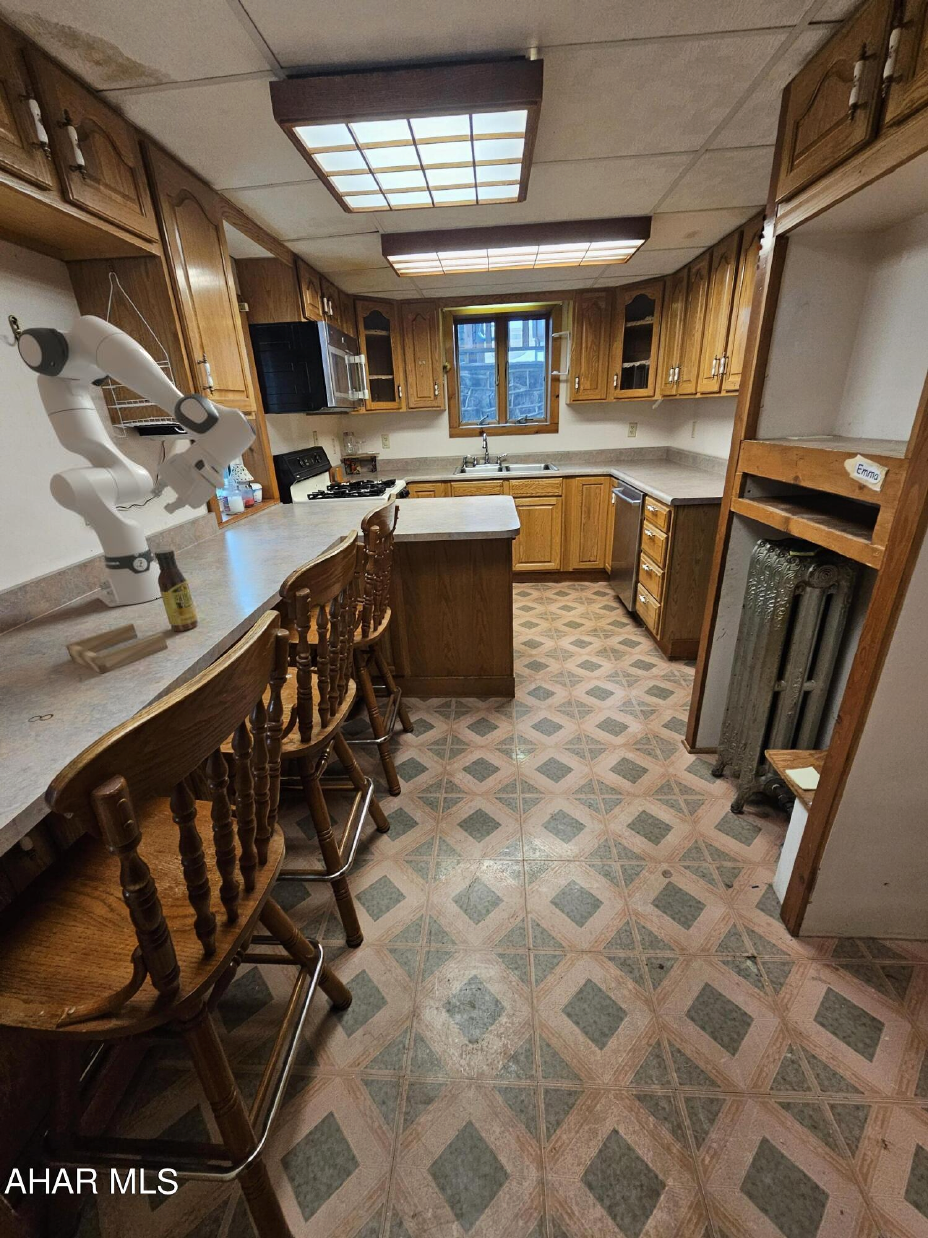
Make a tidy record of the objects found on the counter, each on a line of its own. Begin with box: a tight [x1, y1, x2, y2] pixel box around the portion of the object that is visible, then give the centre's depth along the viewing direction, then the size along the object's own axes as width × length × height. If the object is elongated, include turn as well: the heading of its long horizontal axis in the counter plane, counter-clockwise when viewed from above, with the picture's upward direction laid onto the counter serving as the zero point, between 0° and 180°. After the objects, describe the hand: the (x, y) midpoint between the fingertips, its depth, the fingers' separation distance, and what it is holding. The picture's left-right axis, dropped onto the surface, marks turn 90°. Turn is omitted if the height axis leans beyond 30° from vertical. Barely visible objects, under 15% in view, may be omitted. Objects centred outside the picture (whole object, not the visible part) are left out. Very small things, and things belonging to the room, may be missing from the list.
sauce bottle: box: [154, 548, 199, 632], centre depth 120 cm, size 7×6×20 cm
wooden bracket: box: [65, 622, 169, 675], centre depth 110 cm, size 16×14×4 cm
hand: (160, 503), depth 118 cm, fingers open, 8 cm apart
